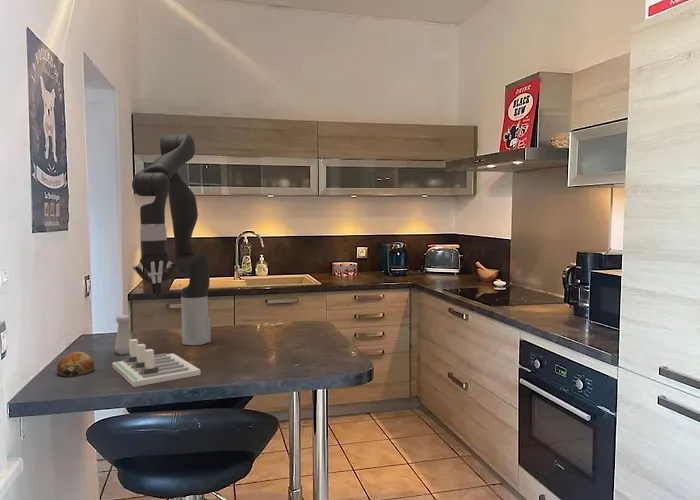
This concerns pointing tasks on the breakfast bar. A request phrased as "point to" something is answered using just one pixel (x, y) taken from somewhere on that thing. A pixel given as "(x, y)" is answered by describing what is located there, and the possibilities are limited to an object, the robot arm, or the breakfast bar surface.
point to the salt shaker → (123, 335)
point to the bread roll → (75, 364)
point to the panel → (167, 370)
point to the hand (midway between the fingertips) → (156, 295)
